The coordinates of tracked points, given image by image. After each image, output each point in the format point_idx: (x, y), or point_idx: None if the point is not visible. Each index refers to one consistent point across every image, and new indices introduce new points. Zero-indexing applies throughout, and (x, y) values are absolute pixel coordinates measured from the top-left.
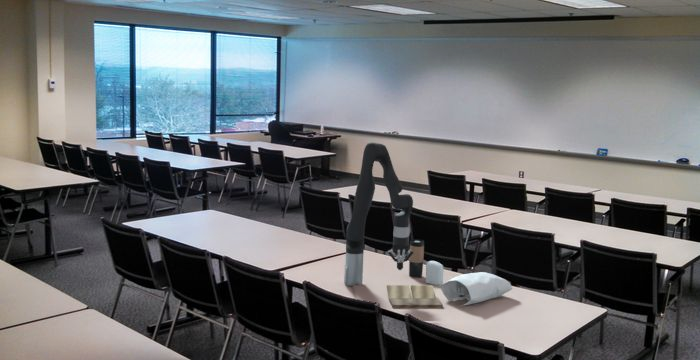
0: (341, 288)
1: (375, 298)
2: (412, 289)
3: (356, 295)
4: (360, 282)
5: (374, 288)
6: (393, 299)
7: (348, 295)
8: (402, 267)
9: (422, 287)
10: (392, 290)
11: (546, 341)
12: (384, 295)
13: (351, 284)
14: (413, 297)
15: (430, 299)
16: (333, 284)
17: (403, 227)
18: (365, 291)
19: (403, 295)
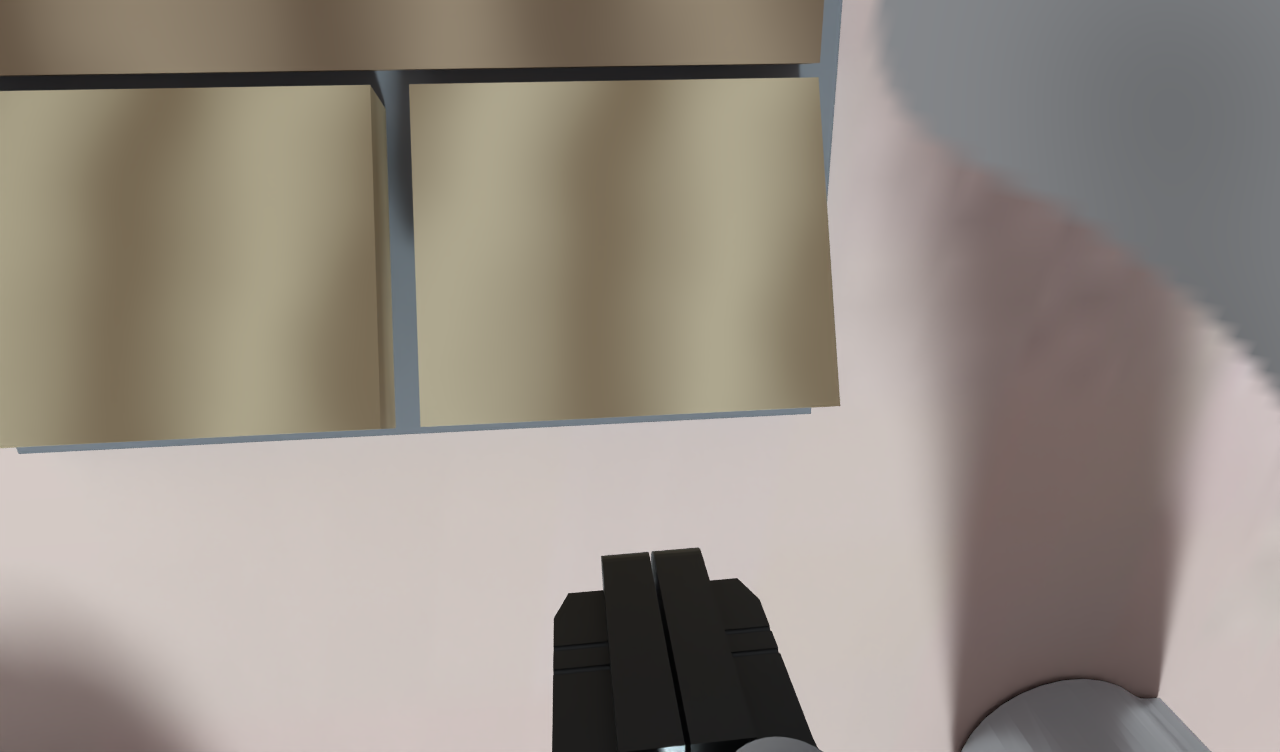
0: (1234, 615)
1: (940, 290)
2: (364, 315)
3: (1153, 396)
4: (1019, 738)
5: (852, 644)
6: (759, 6)
7: (1252, 391)
8: (573, 624)
9: (151, 378)
10: (748, 273)
11: None
12: None
13: (1120, 697)
14: (374, 120)
15: (34, 10)
16: (1267, 720)
17: None
18: (991, 541)
19: (557, 152)
